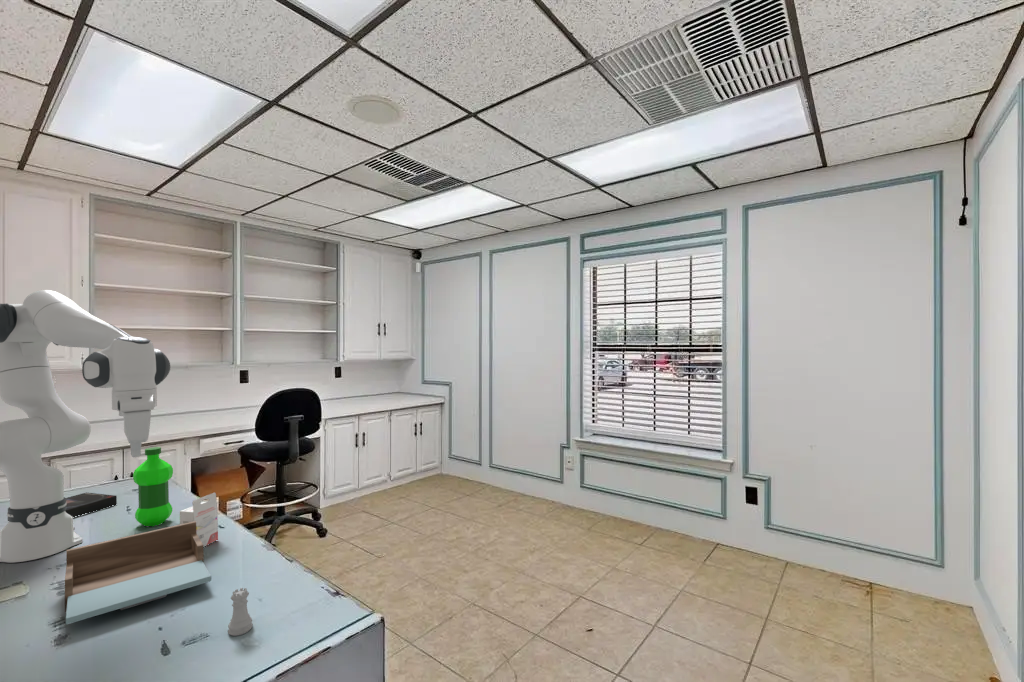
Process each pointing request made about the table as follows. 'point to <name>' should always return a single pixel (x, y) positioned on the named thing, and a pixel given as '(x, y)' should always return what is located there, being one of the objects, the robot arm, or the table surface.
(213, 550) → the table surface
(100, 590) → the drawer face panel
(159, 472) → the plastic bottle
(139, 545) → the brown long open box
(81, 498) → the flat black box
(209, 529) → the ink cartridge box
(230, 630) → the rook chess piece
